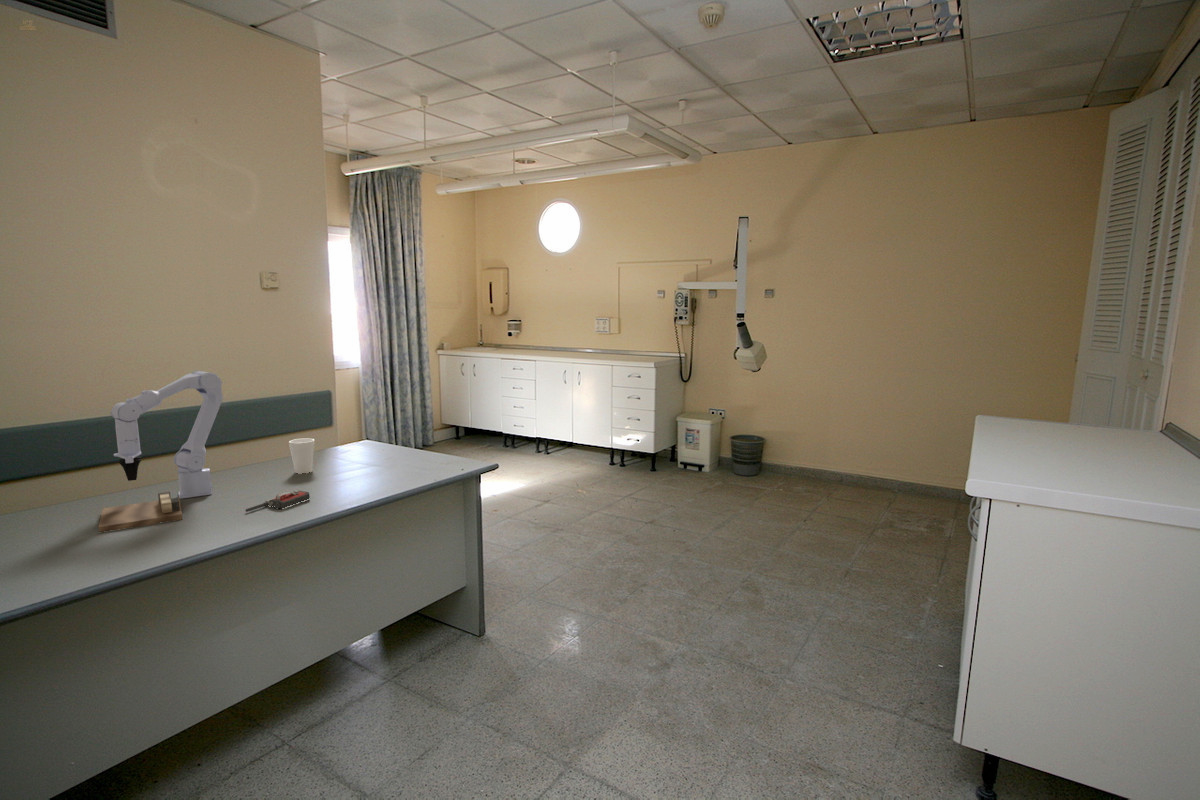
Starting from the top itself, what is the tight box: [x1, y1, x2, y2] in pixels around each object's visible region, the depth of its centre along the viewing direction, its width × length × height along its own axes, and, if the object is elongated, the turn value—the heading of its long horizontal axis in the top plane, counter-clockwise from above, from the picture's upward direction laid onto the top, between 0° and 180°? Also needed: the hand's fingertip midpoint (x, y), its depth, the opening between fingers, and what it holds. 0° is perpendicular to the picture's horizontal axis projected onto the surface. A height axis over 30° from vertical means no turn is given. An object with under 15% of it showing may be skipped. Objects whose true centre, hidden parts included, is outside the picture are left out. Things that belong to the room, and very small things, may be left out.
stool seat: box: [98, 497, 183, 533], centre depth 187 cm, size 20×20×5 cm
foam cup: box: [288, 437, 316, 475], centre depth 240 cm, size 10×9×13 cm
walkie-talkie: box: [245, 490, 311, 513], centre depth 199 cm, size 9×4×20 cm
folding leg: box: [157, 491, 172, 513], centre depth 190 cm, size 15×3×3 cm, turn 39°
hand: (132, 479), depth 194 cm, fingers closed
